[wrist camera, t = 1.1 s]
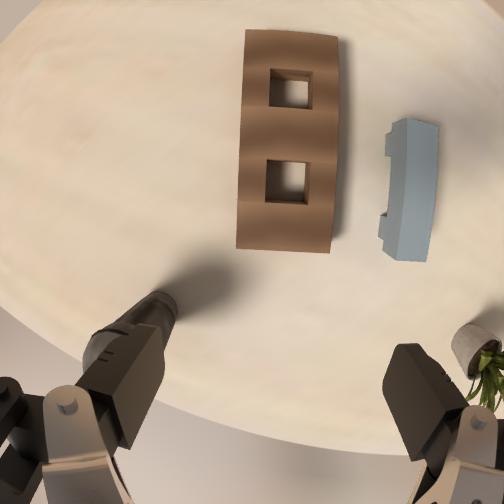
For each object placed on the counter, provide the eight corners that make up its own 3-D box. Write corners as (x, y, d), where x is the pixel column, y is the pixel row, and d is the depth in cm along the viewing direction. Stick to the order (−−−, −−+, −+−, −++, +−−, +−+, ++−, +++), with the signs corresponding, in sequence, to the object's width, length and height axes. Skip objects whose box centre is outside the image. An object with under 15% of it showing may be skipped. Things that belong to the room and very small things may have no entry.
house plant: (402, 362, 35) (449, 445, 19) (459, 280, 31) (537, 339, 16) (452, 383, 36) (495, 448, 20) (501, 316, 32) (561, 368, 17)
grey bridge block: (381, 126, 27) (407, 117, 21) (408, 132, 27) (438, 126, 21) (372, 243, 31) (395, 260, 24) (399, 245, 30) (426, 261, 24)
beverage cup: (127, 316, 35) (40, 421, 15) (144, 270, 33) (38, 369, 14) (176, 343, 35) (116, 468, 16) (198, 299, 33) (133, 430, 14)
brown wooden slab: (247, 43, 25) (245, 29, 22) (330, 49, 25) (337, 36, 22) (239, 240, 31) (236, 248, 28) (323, 244, 31) (329, 253, 28)
